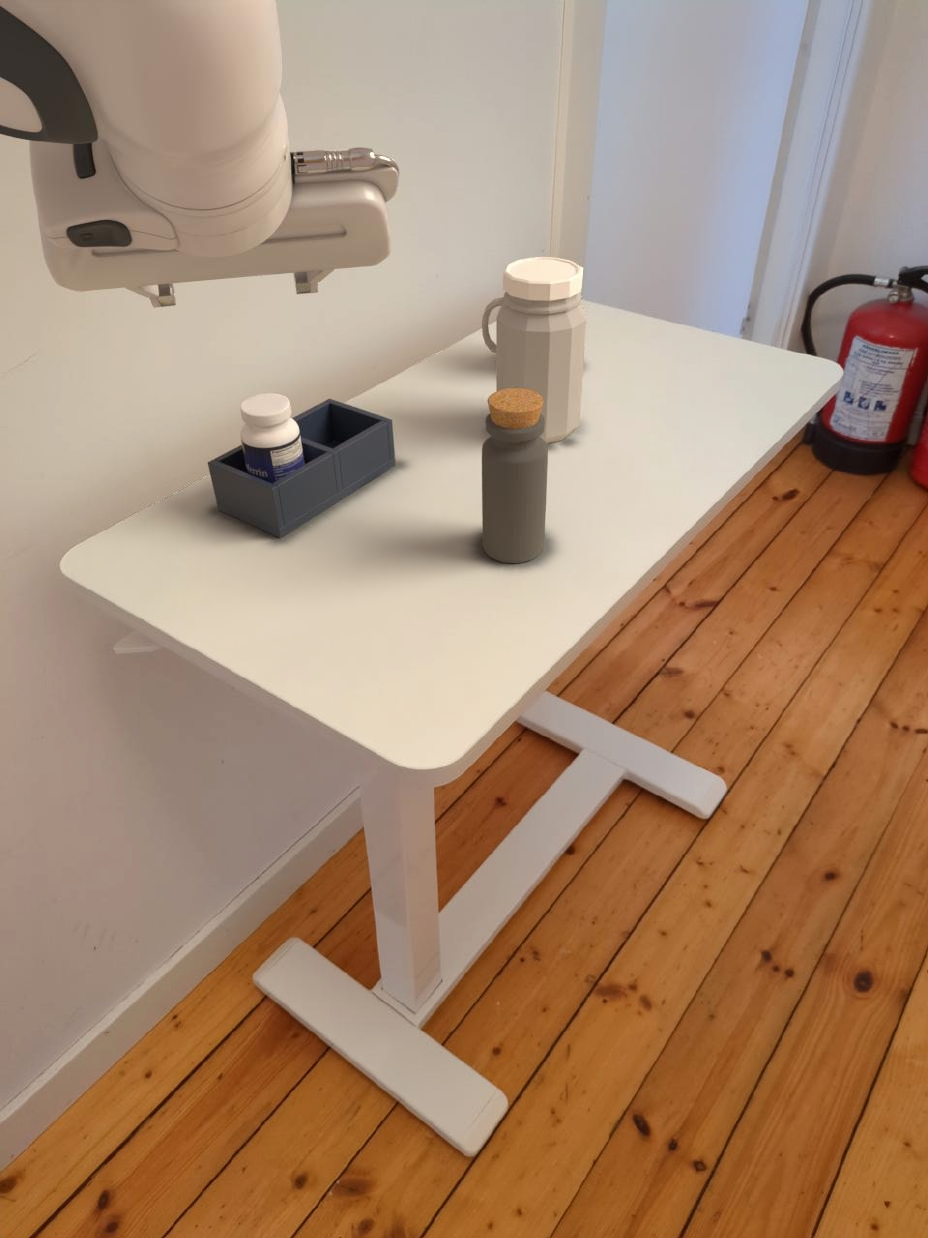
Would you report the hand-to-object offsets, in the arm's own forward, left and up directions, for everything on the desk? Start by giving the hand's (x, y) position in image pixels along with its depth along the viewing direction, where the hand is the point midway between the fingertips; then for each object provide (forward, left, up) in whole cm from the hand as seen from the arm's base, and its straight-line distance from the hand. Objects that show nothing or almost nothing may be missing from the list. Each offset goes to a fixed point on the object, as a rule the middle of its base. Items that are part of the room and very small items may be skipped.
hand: (235, 289), depth 60 cm
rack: (+3, +21, -28) cm, 35 cm away
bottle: (+21, +5, -28) cm, 35 cm away
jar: (+30, +28, -28) cm, 50 cm away
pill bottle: (0, +18, -27) cm, 32 cm away
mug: (+34, +46, -28) cm, 64 cm away
